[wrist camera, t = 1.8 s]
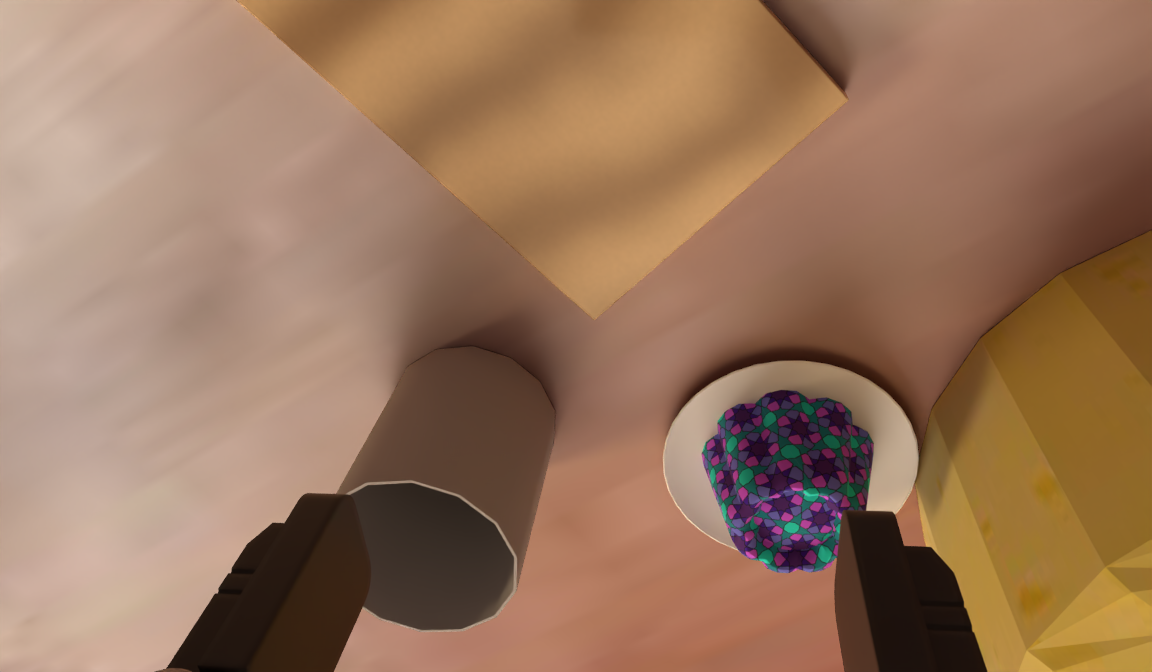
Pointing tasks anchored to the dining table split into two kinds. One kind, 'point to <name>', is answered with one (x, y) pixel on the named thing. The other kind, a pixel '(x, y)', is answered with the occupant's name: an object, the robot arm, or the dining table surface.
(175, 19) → the dining table surface
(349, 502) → the robot arm
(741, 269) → the dining table surface
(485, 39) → the board
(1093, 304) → the cheese
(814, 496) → the pudding
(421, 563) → the cup
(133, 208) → the dining table surface
